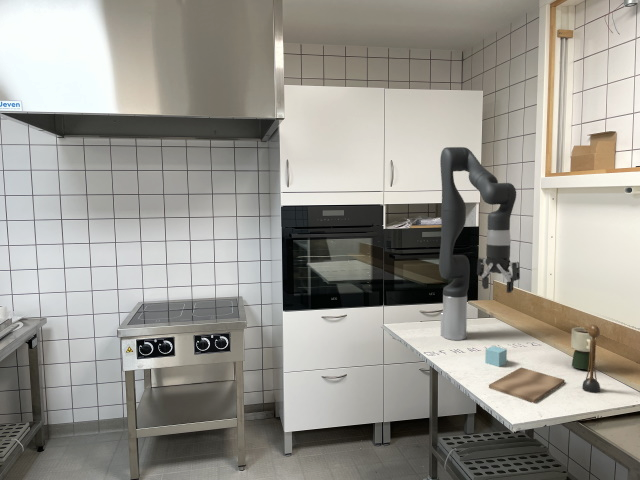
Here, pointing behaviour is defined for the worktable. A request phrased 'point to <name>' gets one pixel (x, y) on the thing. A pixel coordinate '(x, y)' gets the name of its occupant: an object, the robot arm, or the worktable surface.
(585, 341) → the character mug
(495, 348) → the teal cube
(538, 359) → the worktable surface
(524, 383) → the walnut board
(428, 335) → the worktable surface
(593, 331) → the wooden tabletop sculpture
